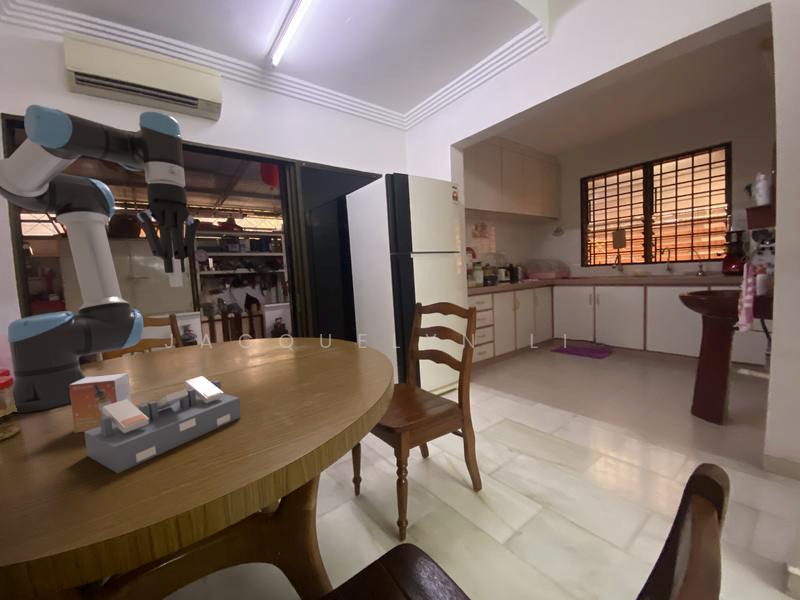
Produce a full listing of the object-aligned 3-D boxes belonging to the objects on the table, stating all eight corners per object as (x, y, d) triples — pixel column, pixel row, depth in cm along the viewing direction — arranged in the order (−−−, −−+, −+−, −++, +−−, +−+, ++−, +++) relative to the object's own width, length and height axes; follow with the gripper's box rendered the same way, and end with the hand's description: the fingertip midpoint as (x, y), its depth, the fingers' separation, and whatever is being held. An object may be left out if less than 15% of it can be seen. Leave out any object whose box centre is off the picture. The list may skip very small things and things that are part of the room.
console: (87, 455, 58) (81, 414, 57) (208, 408, 77) (205, 376, 76) (118, 473, 52) (112, 427, 51) (241, 417, 71) (238, 383, 70)
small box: (73, 434, 66) (67, 384, 65) (91, 422, 72) (85, 376, 71) (119, 427, 68) (114, 379, 67) (133, 416, 74) (128, 372, 73)
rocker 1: (102, 412, 58) (102, 405, 58) (127, 404, 61) (127, 398, 61) (124, 433, 55) (124, 426, 54) (148, 424, 58) (148, 417, 57)
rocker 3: (184, 385, 70) (185, 380, 70) (201, 380, 73) (202, 375, 73) (206, 403, 67) (206, 397, 67) (222, 397, 70) (223, 391, 70)
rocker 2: (151, 412, 64) (148, 406, 64) (170, 406, 67) (168, 400, 67) (168, 401, 60) (165, 394, 61) (188, 394, 63) (186, 388, 64)
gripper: (141, 176, 67) (153, 288, 69) (204, 189, 79) (212, 285, 81) (124, 182, 71) (136, 288, 73) (187, 193, 82) (195, 285, 84)
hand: (176, 286), depth 77 cm, fingers closed
